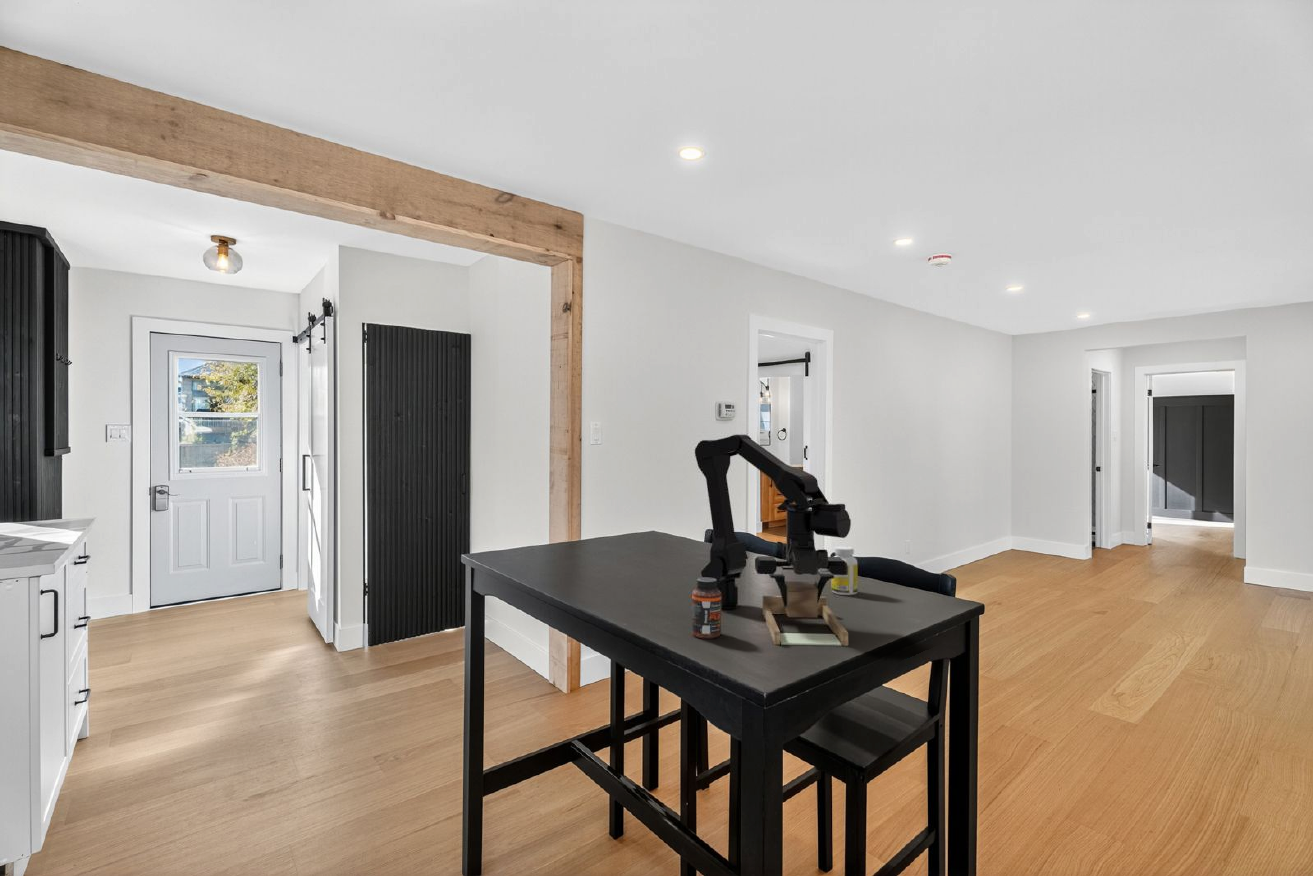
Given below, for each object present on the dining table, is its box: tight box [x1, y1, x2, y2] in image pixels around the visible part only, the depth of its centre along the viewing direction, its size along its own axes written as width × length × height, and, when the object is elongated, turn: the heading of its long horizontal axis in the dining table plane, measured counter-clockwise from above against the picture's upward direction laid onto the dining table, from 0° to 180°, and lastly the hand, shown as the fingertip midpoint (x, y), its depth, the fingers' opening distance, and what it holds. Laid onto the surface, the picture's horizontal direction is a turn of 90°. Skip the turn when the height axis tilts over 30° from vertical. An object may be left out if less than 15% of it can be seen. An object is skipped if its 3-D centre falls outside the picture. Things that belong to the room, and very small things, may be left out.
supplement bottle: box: [691, 577, 722, 640], centre depth 125 cm, size 6×6×11 cm
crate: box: [784, 580, 818, 618], centre depth 132 cm, size 6×6×6 cm
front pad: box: [780, 632, 842, 647], centre depth 122 cm, size 11×6×1 cm, turn 86°
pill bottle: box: [830, 545, 859, 596], centre depth 159 cm, size 6×6×12 cm
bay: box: [762, 595, 849, 647], centre depth 130 cm, size 14×21×4 cm, turn 176°
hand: (800, 605), depth 132 cm, fingers closed on crate, 6 cm apart
